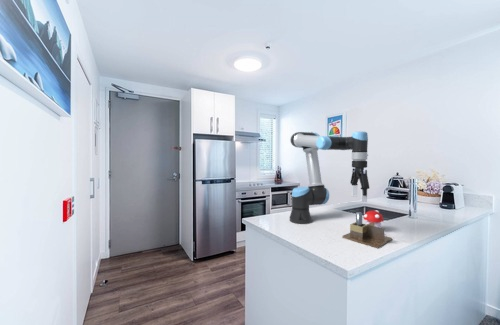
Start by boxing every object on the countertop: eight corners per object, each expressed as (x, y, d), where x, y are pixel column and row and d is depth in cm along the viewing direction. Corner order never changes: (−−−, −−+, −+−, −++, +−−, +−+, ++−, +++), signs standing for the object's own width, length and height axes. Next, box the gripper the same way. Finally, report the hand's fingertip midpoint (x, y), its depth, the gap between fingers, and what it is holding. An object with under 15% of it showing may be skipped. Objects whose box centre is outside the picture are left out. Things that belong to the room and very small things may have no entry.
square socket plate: (342, 237, 118) (342, 224, 118) (358, 230, 129) (358, 218, 129) (377, 248, 104) (377, 233, 104) (392, 239, 115) (392, 225, 115)
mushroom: (373, 234, 124) (373, 213, 123) (359, 228, 134) (359, 209, 134) (388, 232, 126) (388, 212, 126) (372, 226, 137) (372, 207, 137)
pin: (355, 236, 117) (355, 212, 117) (357, 234, 119) (357, 211, 119) (360, 237, 115) (360, 213, 115) (363, 236, 117) (363, 212, 117)
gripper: (377, 160, 104) (376, 204, 104) (358, 159, 128) (357, 195, 129) (361, 160, 105) (360, 203, 105) (345, 159, 129) (344, 194, 130)
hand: (358, 199), depth 117 cm, fingers open, 13 cm apart
